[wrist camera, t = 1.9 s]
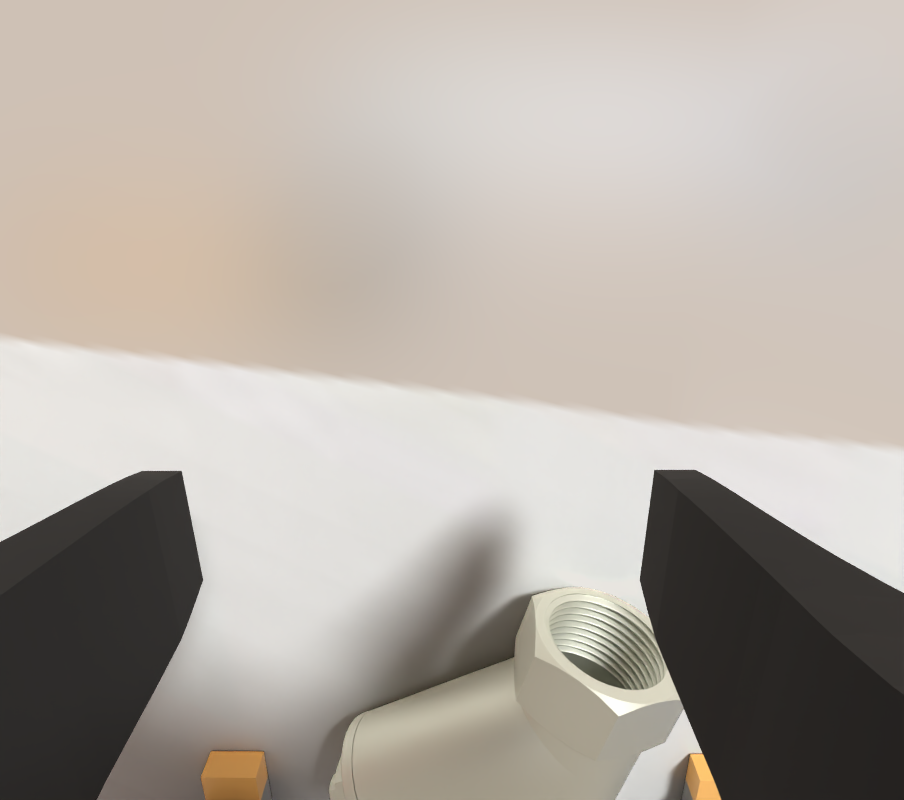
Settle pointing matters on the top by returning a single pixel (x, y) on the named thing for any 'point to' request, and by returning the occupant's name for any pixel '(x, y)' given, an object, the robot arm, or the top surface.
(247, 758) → the bracket
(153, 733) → the top surface
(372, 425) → the top surface
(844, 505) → the top surface
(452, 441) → the top surface
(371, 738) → the pipe fitting
